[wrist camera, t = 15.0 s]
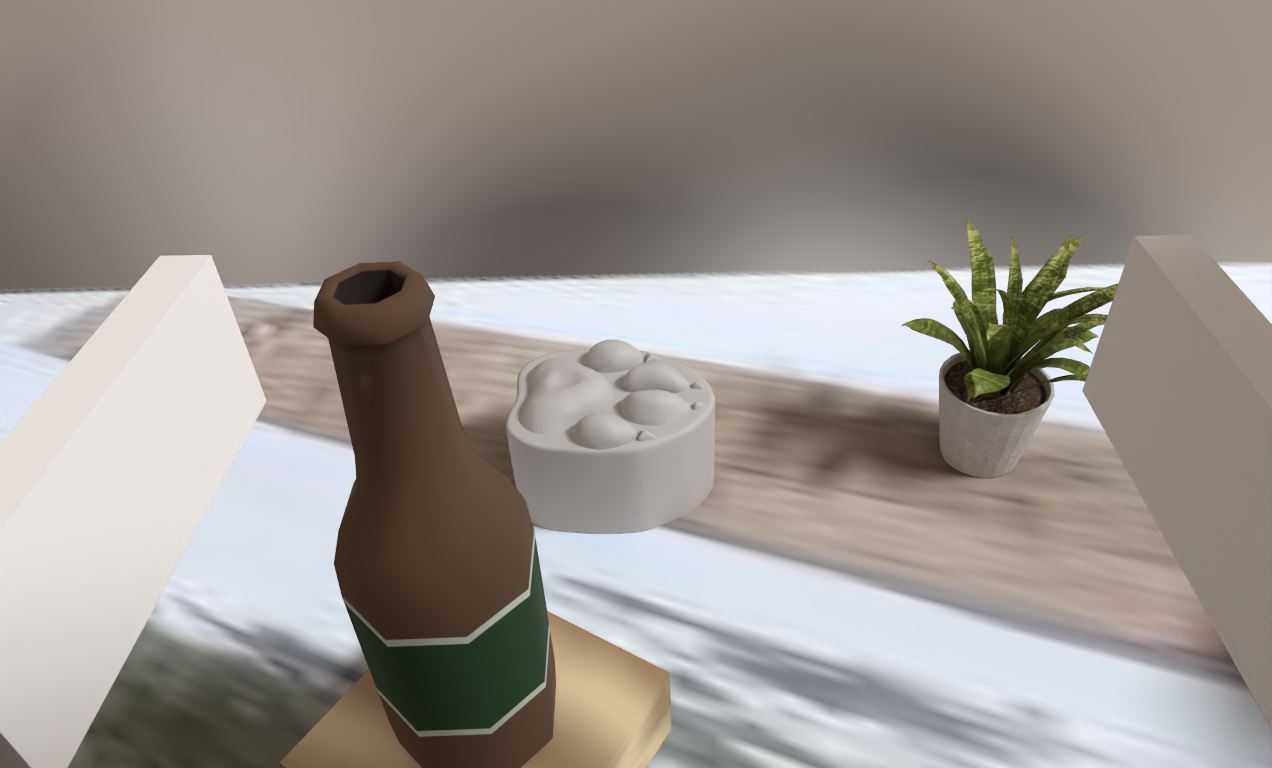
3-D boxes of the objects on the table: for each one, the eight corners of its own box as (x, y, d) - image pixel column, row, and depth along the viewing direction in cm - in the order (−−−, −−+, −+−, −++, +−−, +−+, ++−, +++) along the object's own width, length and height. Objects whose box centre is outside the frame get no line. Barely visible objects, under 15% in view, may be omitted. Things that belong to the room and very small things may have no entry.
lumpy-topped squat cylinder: (535, 426, 67) (521, 329, 62) (713, 428, 66) (715, 330, 61) (512, 533, 59) (493, 432, 54) (714, 536, 58) (716, 434, 53)
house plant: (1083, 573, 54) (1172, 353, 44) (854, 506, 59) (887, 294, 49) (1102, 427, 64) (1178, 220, 54) (904, 380, 69) (940, 182, 59)
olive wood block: (477, 625, 53) (464, 569, 50) (671, 729, 48) (669, 672, 45) (308, 816, 45) (279, 762, 42) (519, 969, 39) (504, 920, 36)
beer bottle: (364, 762, 42) (178, 329, 27) (452, 628, 47) (339, 208, 32) (516, 822, 39) (406, 382, 24) (590, 673, 45) (537, 241, 30)
